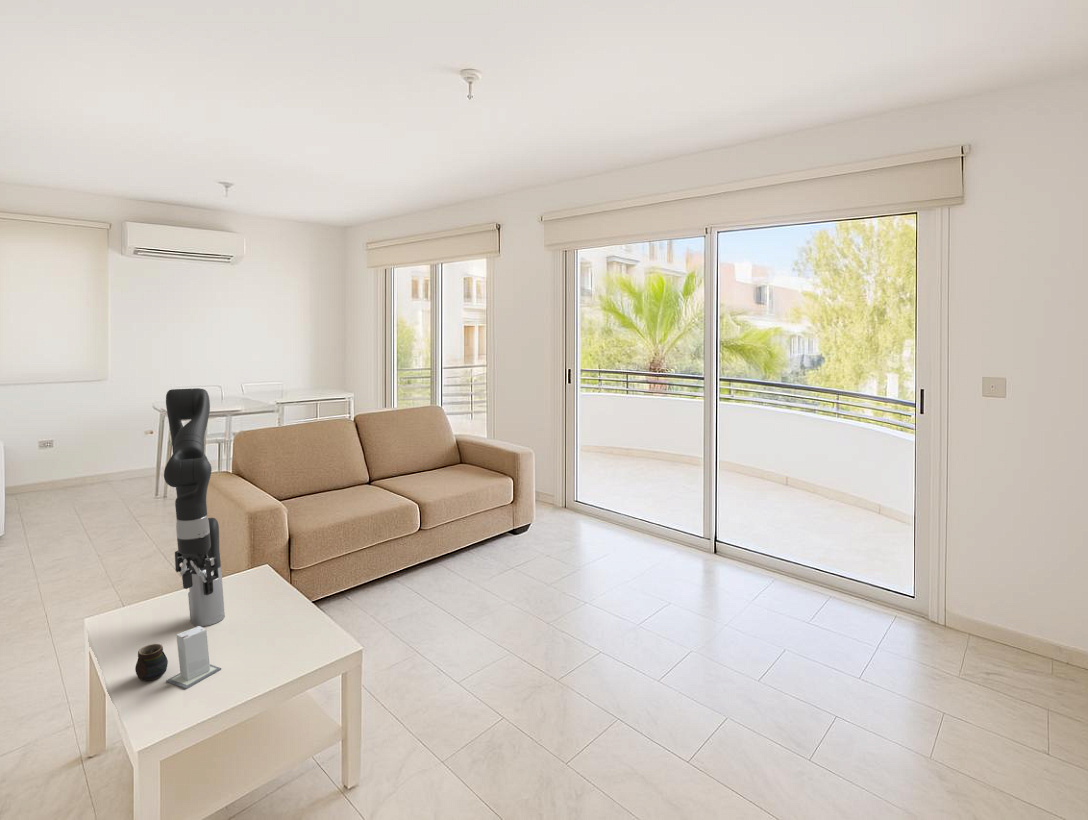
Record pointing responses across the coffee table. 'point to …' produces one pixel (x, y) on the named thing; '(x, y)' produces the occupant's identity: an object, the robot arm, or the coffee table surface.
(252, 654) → the coffee table surface
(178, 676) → the slate gray picture frame
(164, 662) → the mate gourd
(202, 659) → the skincare box
